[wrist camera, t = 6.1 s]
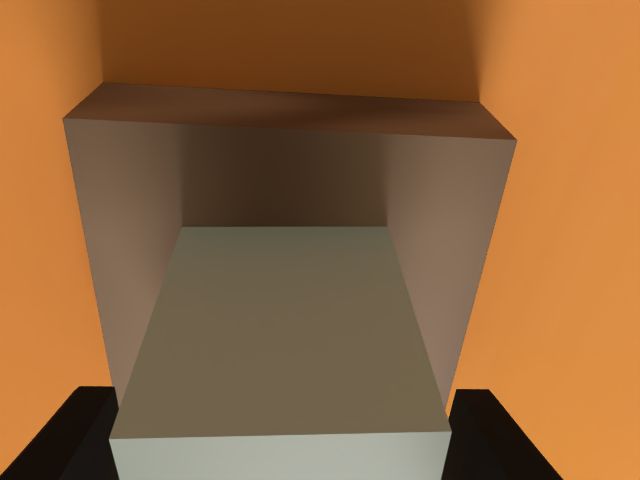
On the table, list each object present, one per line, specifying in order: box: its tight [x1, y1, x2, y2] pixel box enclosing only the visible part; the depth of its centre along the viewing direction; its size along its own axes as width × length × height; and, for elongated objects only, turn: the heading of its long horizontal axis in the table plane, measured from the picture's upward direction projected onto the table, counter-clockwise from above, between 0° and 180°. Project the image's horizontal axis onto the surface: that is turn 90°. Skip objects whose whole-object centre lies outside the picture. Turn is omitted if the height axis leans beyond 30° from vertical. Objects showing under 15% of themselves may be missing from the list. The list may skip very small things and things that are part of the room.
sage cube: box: [109, 227, 452, 480], centre depth 11 cm, size 4×4×6 cm
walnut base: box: [63, 83, 517, 408], centre depth 14 cm, size 9×9×3 cm
